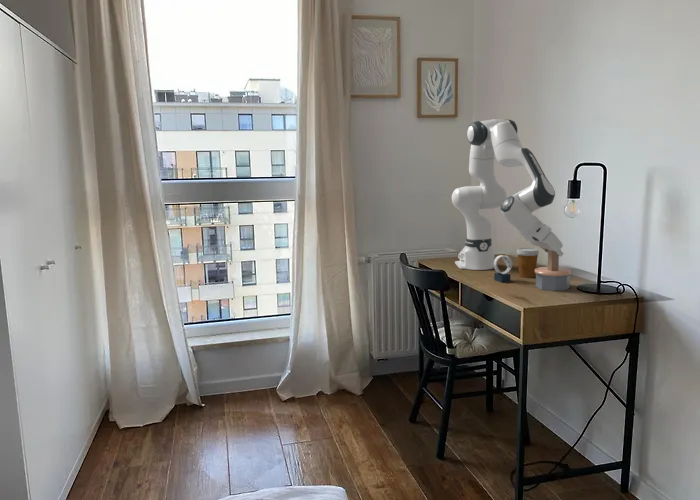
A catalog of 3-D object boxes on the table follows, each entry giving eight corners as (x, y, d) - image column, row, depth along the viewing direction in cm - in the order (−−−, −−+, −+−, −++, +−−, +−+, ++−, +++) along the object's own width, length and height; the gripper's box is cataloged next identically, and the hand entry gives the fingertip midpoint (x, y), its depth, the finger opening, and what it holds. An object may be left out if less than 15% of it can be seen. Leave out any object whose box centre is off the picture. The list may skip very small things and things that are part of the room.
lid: (528, 270, 233) (528, 246, 231) (559, 268, 235) (560, 244, 234) (545, 277, 219) (546, 251, 217) (578, 274, 222) (579, 249, 220)
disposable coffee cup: (542, 277, 246) (543, 250, 244) (522, 279, 244) (523, 251, 242) (531, 273, 255) (531, 247, 253) (511, 274, 253) (512, 248, 251)
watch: (514, 281, 241) (514, 255, 239) (497, 283, 238) (498, 257, 237) (506, 278, 246) (507, 253, 244) (490, 280, 244) (490, 255, 242)
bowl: (531, 284, 233) (531, 270, 232) (558, 282, 235) (558, 268, 234) (546, 291, 221) (547, 276, 220) (574, 289, 223) (575, 274, 222)
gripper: (515, 232, 233) (536, 254, 236) (540, 239, 213) (563, 263, 216) (525, 221, 233) (546, 243, 236) (551, 227, 213) (574, 251, 216)
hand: (554, 253), depth 226 cm, fingers open, 8 cm apart
